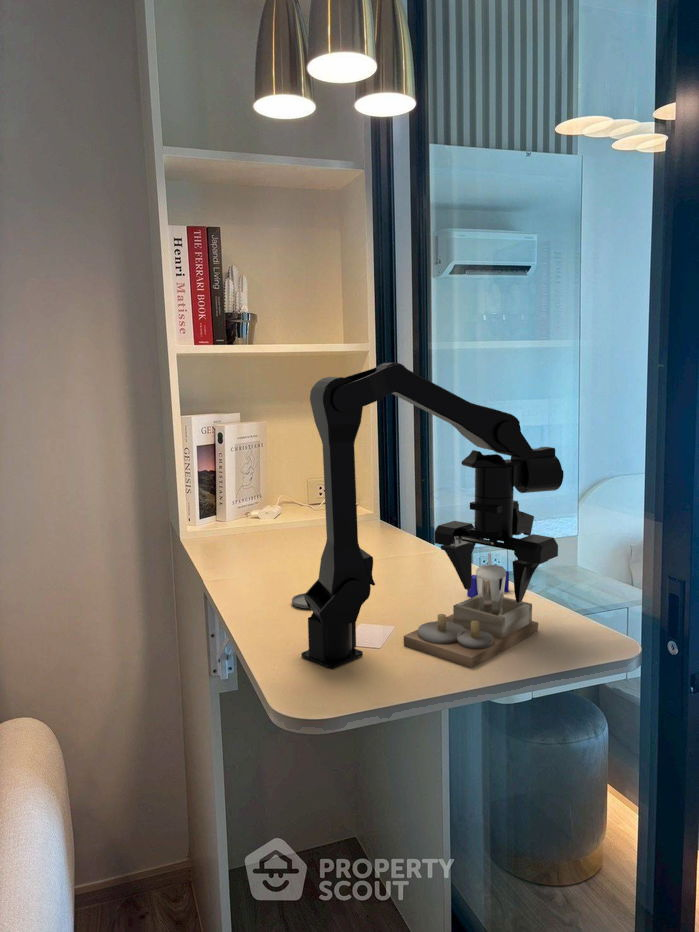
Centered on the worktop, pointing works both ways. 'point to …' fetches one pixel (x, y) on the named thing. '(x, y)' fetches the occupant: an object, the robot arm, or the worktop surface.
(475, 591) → the cable holder
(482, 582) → the milkshake
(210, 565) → the worktop surface
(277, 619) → the worktop surface
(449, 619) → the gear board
